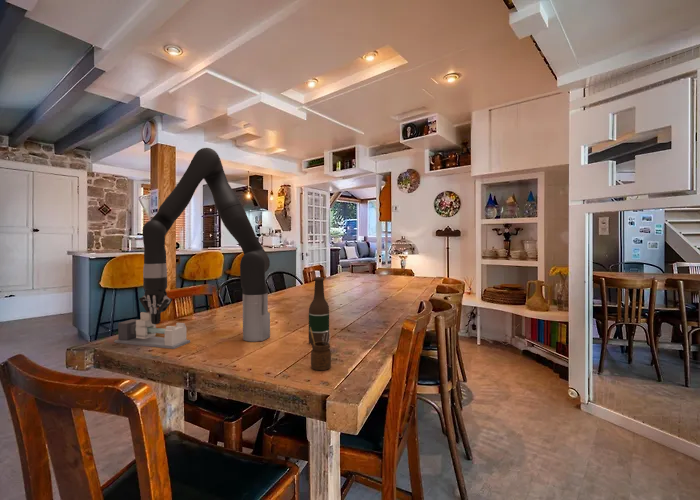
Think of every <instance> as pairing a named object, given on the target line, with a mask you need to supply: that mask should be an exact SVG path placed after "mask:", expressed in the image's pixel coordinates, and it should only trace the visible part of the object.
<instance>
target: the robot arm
mask: <svg viewBox="0 0 700 500" xmlns="http://www.w3.org/2000/svg"><path fill="white" fill-rule="evenodd" d="M203 180H204V181H205V182H206V185H207V186H208V188H209V190H210V192H211V195H212V198H213V201H214V202H213V203H214V205H215V207H216V211H217V213H218V215H219V218H220V219H221V222H222V224H223V226H224V227H225V228H226V230H227V231H228V233H229V234H230V235H231V236H232V237H233V239H235V241H236V242H237V243H238V244H239V246H240V248H241V251H242V252H243V255H242V256H241V259H240V262H239V273H240V274H239V278H240V287H241V289H242V340H243V341H246V342H263V341H266V340H267V339H269V338H270V337H271V313H270V312H269V309H268V307H269V304H268V303H269V301H268V300H269V299H268V298H269V288H268V285H267V283H266V275H265V274H266V272H268V271H269V269H270V266H271V261H270V260H271V259H270V258H269V255H268V254H267V252H266V251H265V248H264V247H263V246H262V243H261V242H260V241H259V239H258V237H257V236H256V233H255V231H254V228H253V226H252V224H251V221H250V220H249V217H248V215H247V212H246V210H245V209H244V206H243V205H242V201H241V200H240V199H239V197H238V195H237V193H236V192H235V191H234V190H233V188H232V187H231V185H230V183H229V180H228V179H227V176H226V173H225V170H224V167H223V163H222V161H221V158H220V156H219V154H218V152H217V151H215V149H212V148H211V147H210V148H209V147H202V148H200V149H198V150H197V151H196V153H195V154H194V155H193V157H192V159H191V161H190V163H189V164H188V167H187V168H186V170H185V172H184V173H183V175H182V176H181V178H180V180H179V181H178V182H177V184H176V186H175V187H174V188H173V189H172V191H171V192H170V194H168V196H167V197H166V199H165V200H164V201H163V202H162V204H161V205H160V206H159V208H158V210H157V212H156V213H155V215H154V216H153V217H152V218H151V220H149V221H146V222H145V223H144V224H143V227H142V242H143V243H142V244H143V248H144V249H143V250H144V251H143V268H142V270H143V271H142V274H143V275H142V276H143V277H142V279H143V280H142V282H143V283H142V284H143V285H142V286H143V287H142V288H143V290H144V295H142V297H139V298H138V300H139V302H140V303H141V305H142V307H143V308H144V310H145V311H146V313H151V322H152V324H156V325H159V324H161V320H162V319H161V315H162V313H164V312H166V311H167V309H168V308H169V306H170V305H171V303H172V302H173V298H171V297H170V298H169V297H168V294H167V288H168V268H167V250H166V235H167V234H168V232H169V231H170V229H171V228H172V226H173V225H174V223H175V221H176V220H177V219H179V218H180V216H181V215H182V213H184V211H185V210H186V208H187V207H188V206H189V204H190V202H191V200H192V199H193V196H194V195H195V192H196V190H197V188H198V187H199V185H200V183H201V182H202V181H203Z"/></svg>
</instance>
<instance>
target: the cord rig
mask: <svg viewBox="0 0 700 500" xmlns="http://www.w3.org/2000/svg"><path fill="white" fill-rule="evenodd" d="M136 320H137V319H128V320H124V321H121V322H117V324H118V325H117V326H118V328H117V331H118V335H117V336H118V339H115V340H114V343H116V344H123V345H134V346H144V347H153V348H162V349H172V350H175V349H177V348H179V347H181V346H185V345H186V344H190V343H191V339H187V326H186V323H185V322H176V323H175V325H176V326H175V325H174V326H173V325H167V326H165V328H162V327H156V328H151V327H147V332H150V333H156V334H162V335H164V337H162V336H152V337H149V338H146V339H141V338H136Z"/></svg>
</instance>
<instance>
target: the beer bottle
mask: <svg viewBox="0 0 700 500" xmlns="http://www.w3.org/2000/svg"><path fill="white" fill-rule="evenodd" d="M313 281H314V290H313V291H314V292H313V294H314V295H313V298H312V299H313V300H312V301H311V303H310V304H309V308H308V343H309V344H310V345H313V343H314V342H320V341H323V342H328V343H329V341H330V305H329V304H328V302H327V300H326V298H325V297H326V296H325V287H324V281H325V278H324V277H323V276H316V277H314V280H313ZM310 327H311V330H312V333H313V338H314V342H313V339H312V335H311V331H310ZM326 330H328V331H327V332H328V333H327V332H325V331H326ZM323 334H325V335H323ZM327 335H328V336H327ZM326 337H327V338H326ZM326 340H327V341H326ZM328 340H329V341H328Z"/></svg>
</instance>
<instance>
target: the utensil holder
mask: <svg viewBox="0 0 700 500" xmlns="http://www.w3.org/2000/svg"><path fill="white" fill-rule="evenodd" d="M310 331H311V335H312V339H313V342H314V338H313V333H312V330H311V327H310ZM327 331H328V330H326V331H325V332H327ZM327 333H328V332H327ZM323 335H325V334H323ZM327 336H328V335H327ZM326 338H327V337H326ZM330 340H331V337H329V340H328V342H323V341H320V342H314V343H313V344H311V348H312V349H311V352H310V366H311V369H313V370H314V371H326V370H328V369H330V368H331V366H332V352H331V349H330V348H331V345H330ZM326 341H327V340H326Z"/></svg>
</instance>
